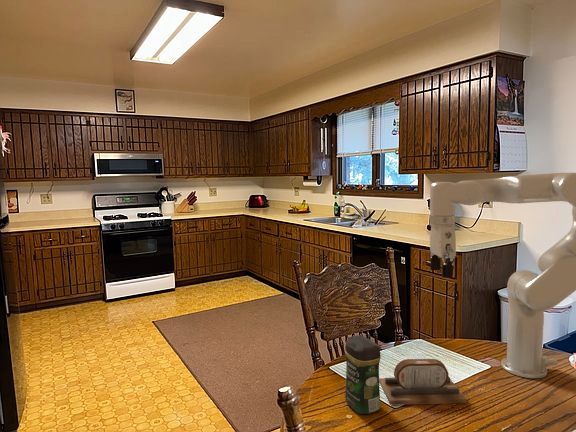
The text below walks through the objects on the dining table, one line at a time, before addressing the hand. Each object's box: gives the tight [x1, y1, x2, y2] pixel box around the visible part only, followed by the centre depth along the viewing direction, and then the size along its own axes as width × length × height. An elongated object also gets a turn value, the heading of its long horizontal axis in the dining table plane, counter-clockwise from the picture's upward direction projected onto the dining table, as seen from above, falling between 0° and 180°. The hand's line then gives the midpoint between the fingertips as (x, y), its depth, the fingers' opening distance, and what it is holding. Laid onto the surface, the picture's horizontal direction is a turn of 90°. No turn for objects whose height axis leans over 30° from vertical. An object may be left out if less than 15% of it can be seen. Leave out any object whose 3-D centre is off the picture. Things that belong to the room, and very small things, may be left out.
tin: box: [393, 358, 449, 388], centre depth 113 cm, size 15×3×8 cm, turn 91°
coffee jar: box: [344, 334, 382, 415], centre depth 107 cm, size 10×8×19 cm
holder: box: [379, 375, 468, 406], centre depth 114 cm, size 21×12×3 cm, turn 91°
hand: (441, 273), depth 128 cm, fingers open, 9 cm apart
